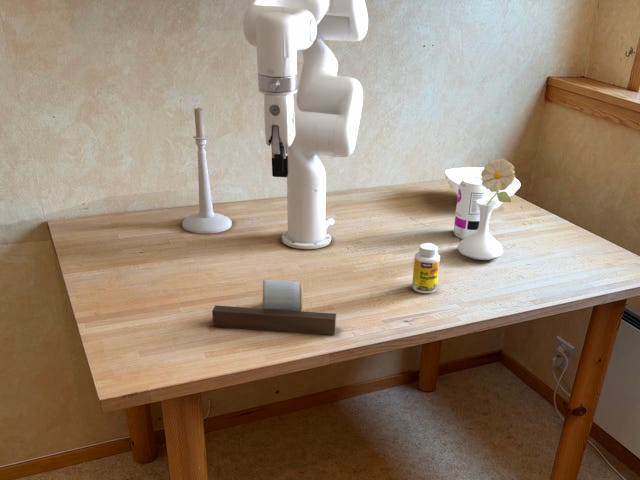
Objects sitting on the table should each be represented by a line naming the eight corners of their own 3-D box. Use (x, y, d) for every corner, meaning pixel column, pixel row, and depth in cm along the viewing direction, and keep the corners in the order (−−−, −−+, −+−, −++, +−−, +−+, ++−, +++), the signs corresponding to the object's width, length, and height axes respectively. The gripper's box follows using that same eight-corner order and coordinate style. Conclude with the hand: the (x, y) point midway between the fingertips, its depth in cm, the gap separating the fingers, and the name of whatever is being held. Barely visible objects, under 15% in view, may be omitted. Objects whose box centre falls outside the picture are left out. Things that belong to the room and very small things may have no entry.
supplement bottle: (415, 295, 152) (419, 251, 147) (409, 284, 156) (412, 242, 151) (439, 293, 153) (444, 250, 148) (432, 283, 158) (436, 241, 152)
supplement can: (449, 237, 183) (456, 182, 175) (458, 228, 189) (464, 174, 182) (479, 243, 180) (487, 187, 173) (487, 233, 187) (494, 178, 179)
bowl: (434, 195, 213) (437, 167, 209) (496, 193, 218) (500, 166, 214) (457, 218, 196) (461, 188, 192) (524, 215, 201) (529, 186, 197)
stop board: (216, 320, 137) (215, 305, 136) (335, 329, 137) (336, 313, 135) (213, 326, 135) (212, 311, 133) (334, 335, 135) (335, 319, 133)
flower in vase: (447, 252, 174) (458, 152, 161) (479, 243, 180) (492, 146, 167) (484, 270, 165) (499, 166, 152) (516, 260, 172) (533, 160, 159)
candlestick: (172, 224, 182) (160, 105, 166) (211, 213, 190) (203, 99, 175) (202, 237, 175) (192, 115, 159) (241, 225, 183) (235, 108, 168)
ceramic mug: (303, 323, 138) (303, 288, 134) (262, 324, 137) (261, 288, 133) (301, 300, 147) (301, 267, 143) (262, 301, 146) (261, 267, 142)
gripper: (292, 93, 128) (293, 189, 138) (301, 76, 140) (302, 165, 150) (251, 91, 128) (256, 187, 138) (264, 74, 140) (268, 163, 150)
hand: (280, 175), depth 144 cm, fingers closed
